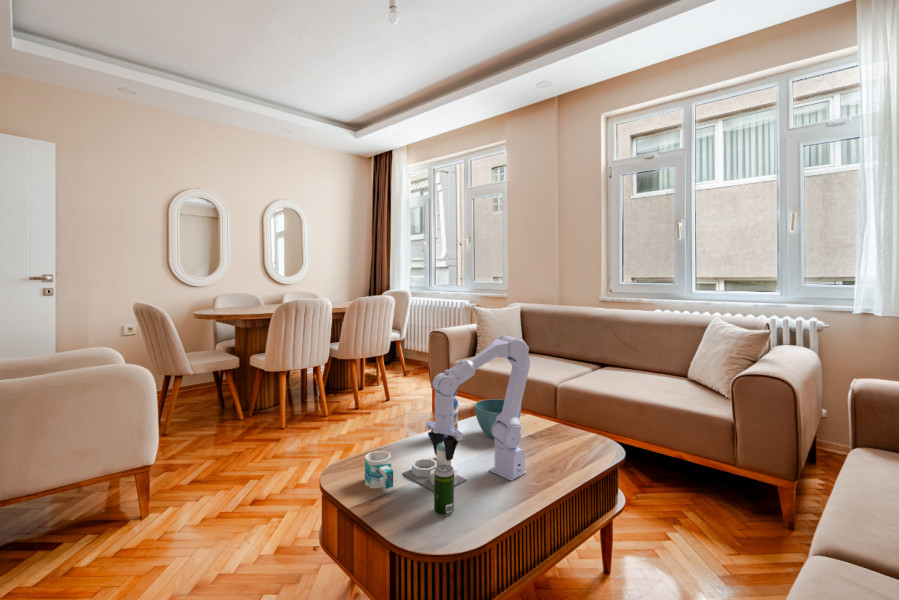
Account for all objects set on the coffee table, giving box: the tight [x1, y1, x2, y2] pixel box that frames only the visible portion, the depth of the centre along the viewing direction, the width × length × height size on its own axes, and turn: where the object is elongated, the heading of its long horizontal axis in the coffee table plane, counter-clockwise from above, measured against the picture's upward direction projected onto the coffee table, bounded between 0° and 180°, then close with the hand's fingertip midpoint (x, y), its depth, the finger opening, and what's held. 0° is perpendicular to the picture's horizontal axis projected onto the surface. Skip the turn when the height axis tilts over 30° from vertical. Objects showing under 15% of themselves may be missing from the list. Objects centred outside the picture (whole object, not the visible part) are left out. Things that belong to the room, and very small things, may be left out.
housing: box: [402, 457, 468, 493], centre depth 136 cm, size 17×12×3 cm
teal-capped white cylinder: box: [436, 443, 452, 466], centre depth 132 cm, size 4×4×6 cm
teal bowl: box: [474, 398, 522, 440], centre depth 171 cm, size 18×18×12 cm
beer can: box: [433, 465, 455, 518], centre depth 116 cm, size 5×5×12 cm
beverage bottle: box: [443, 388, 459, 439], centre depth 169 cm, size 8×8×20 cm
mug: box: [364, 450, 394, 490], centre depth 131 cm, size 8×12×8 cm
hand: (443, 456), depth 132 cm, fingers closed on teal-capped white cylinder, 4 cm apart
